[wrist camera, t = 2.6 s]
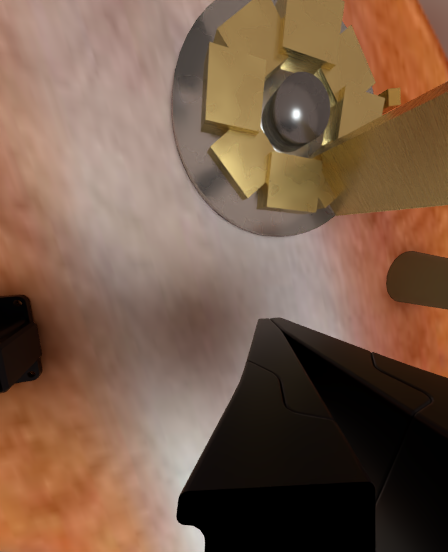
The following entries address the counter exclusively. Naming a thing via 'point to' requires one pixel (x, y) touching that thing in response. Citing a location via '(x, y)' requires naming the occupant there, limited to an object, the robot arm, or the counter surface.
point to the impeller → (274, 122)
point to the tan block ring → (341, 126)
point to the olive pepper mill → (419, 279)
